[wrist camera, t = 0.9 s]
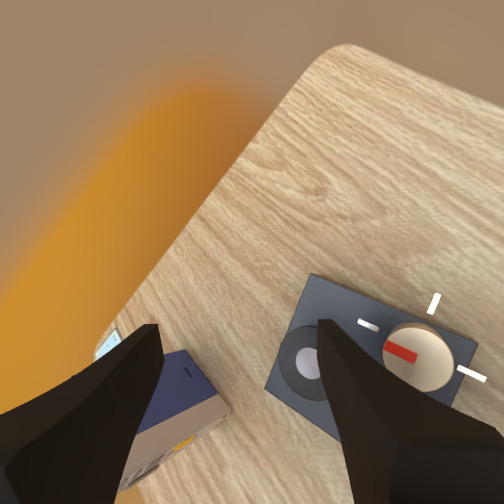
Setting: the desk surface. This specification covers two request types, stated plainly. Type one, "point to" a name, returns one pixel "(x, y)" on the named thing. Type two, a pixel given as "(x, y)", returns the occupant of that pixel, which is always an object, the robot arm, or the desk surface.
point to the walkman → (173, 417)
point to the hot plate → (363, 341)
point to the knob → (418, 356)
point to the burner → (302, 363)
